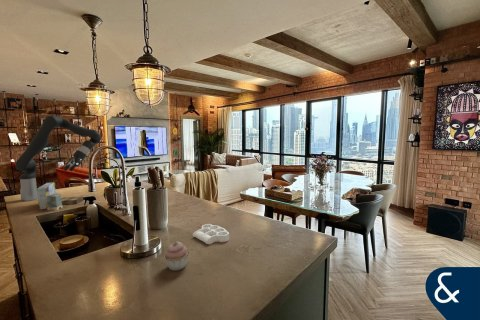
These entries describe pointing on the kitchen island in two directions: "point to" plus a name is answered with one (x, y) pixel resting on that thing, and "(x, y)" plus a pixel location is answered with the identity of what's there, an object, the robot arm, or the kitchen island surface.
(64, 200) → the dock
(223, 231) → the white paint palette
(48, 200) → the pallet crate
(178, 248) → the cupcake
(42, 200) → the snack box
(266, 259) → the kitchen island surface
